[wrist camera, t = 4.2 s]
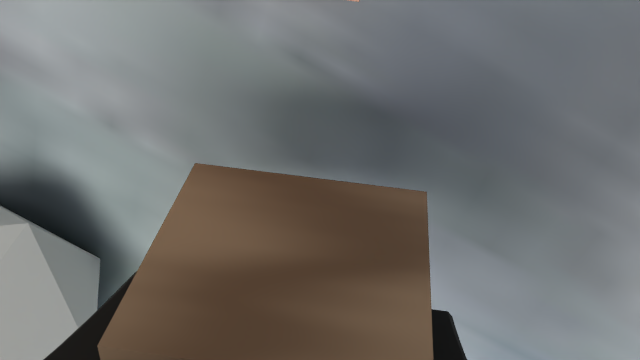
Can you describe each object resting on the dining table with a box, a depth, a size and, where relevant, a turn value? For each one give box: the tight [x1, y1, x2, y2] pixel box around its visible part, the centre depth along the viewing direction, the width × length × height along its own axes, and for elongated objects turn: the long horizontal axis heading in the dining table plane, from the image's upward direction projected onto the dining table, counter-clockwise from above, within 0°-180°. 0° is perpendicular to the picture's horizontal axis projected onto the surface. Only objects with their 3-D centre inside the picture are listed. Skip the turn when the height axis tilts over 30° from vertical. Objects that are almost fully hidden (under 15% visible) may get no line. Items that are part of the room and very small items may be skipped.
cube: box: [97, 163, 433, 360], centre depth 12 cm, size 5×5×5 cm
